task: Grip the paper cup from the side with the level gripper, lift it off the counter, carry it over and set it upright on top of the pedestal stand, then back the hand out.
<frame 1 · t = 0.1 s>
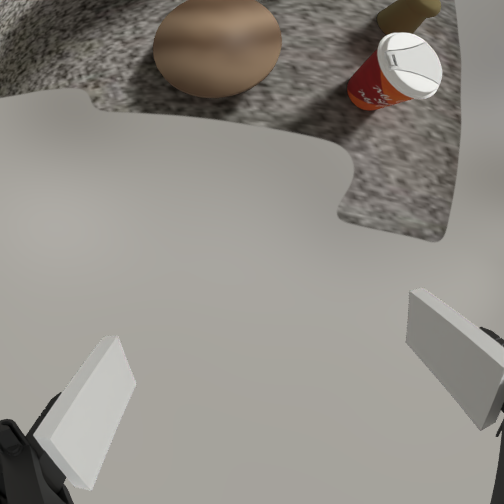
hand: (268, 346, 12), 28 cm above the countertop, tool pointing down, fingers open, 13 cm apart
paper cup: (365, 92, 36), on the countertop
pedestal stand: (219, 55, 34), on the countertop
cork: (393, 25, 33), on the countertop
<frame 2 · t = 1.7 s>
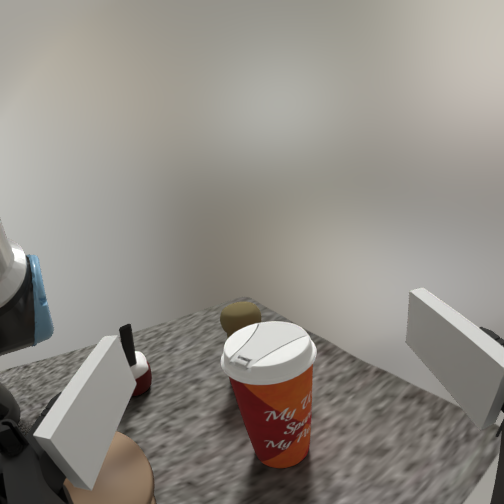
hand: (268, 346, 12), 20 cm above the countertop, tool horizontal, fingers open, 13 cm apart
paper cup: (282, 449, 27), on the countertop
cocoa: (137, 390, 39), on the countertop
cork: (251, 376, 41), on the countertop
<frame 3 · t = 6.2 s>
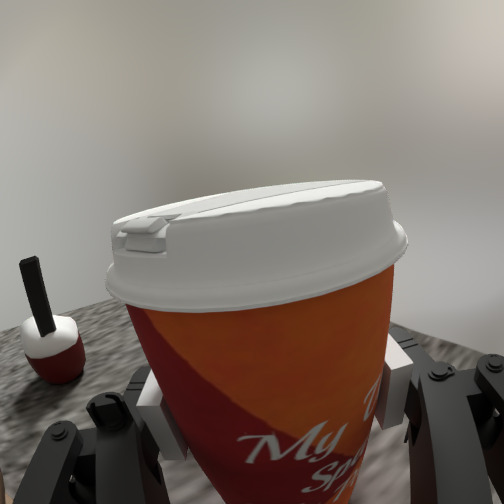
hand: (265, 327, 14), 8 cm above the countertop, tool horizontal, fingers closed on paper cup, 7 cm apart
paper cup: (292, 499, 11), on the countertop, touching gripper
cocoa: (66, 377, 24), on the countertop
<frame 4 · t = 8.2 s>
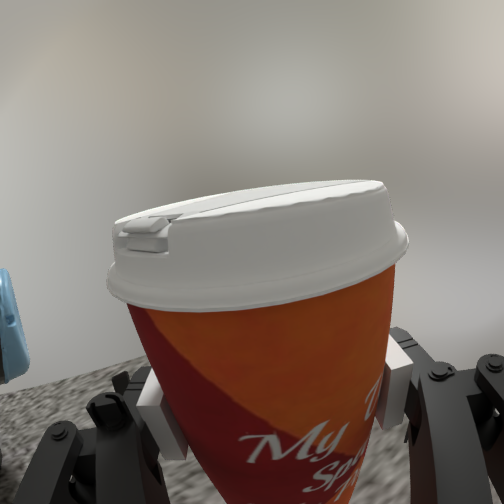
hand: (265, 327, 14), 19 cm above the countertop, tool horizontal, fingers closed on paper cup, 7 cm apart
paper cup: (292, 499, 11), point 11 cm above the countertop, touching gripper
cocoa: (140, 441, 28), on the countertop
when the fingers open (14 cm above the countertop, at t = 10.4 s): paper cup moves 4 cm, resting on pedestal stand.
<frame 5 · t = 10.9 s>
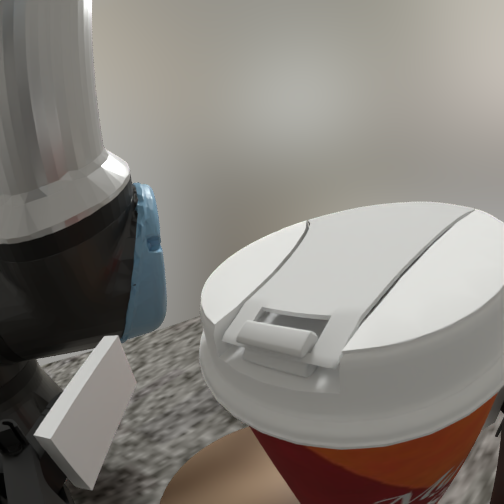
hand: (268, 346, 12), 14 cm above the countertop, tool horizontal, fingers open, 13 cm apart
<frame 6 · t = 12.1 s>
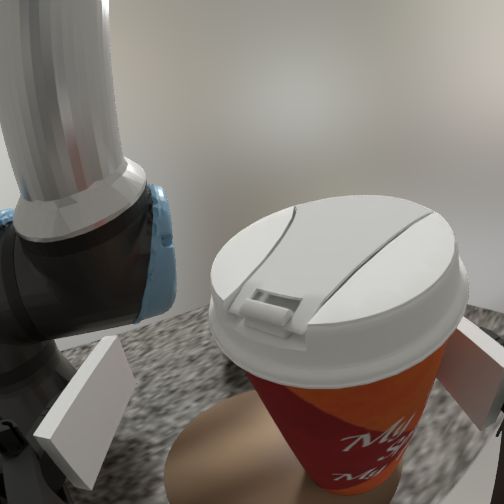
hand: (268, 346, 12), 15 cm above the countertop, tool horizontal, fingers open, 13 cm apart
paper cup: (353, 455, 14), point 6 cm above the countertop, touching pedestal stand
pedestal stand: (287, 494, 17), on the countertop
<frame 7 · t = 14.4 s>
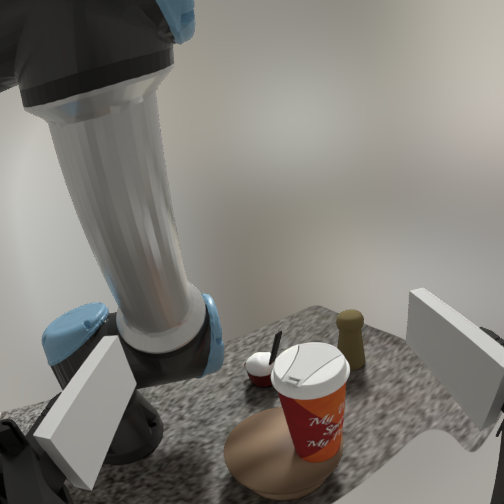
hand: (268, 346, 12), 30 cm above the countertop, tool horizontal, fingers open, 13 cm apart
paper cup: (318, 445, 31), point 5 cm above the countertop, touching pedestal stand
cocoa: (266, 382, 54), on the countertop
pedestal stand: (286, 466, 34), on the countertop
cork: (350, 362, 56), on the countertop
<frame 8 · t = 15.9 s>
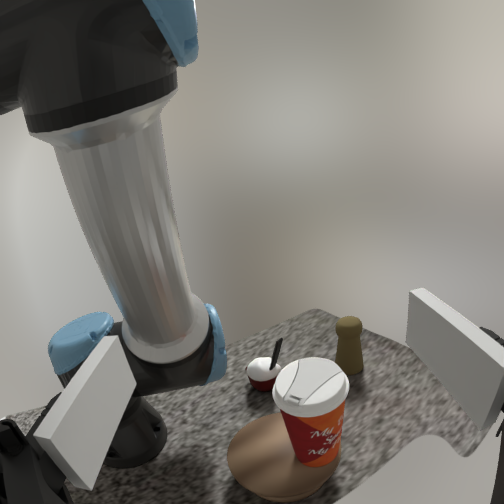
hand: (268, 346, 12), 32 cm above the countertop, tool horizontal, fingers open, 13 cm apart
paper cup: (317, 450, 32), point 6 cm above the countertop, touching pedestal stand
cocoa: (266, 386, 56), on the countertop
pedestal stand: (286, 470, 35), on the countertop
cork: (348, 366, 57), on the countertop
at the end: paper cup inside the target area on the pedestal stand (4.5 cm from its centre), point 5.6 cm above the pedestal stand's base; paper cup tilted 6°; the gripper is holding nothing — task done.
